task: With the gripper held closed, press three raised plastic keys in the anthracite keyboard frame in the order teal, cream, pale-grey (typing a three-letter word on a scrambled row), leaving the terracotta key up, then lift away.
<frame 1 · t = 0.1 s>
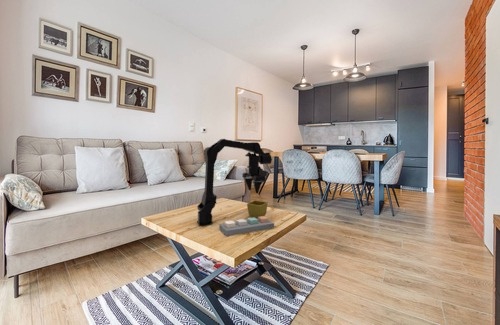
hand: (253, 191, 129), 15 cm above the table, fingers open, 9 cm apart
key b: (241, 223, 110), point 3 cm above the table, slide at 0.0 cm
flower pot: (257, 218, 127), on the table
key d: (263, 220, 115), point 3 cm above the table, slide at 0.0 cm
key a: (229, 225, 107), point 3 cm above the table, slide at 0.0 cm
keyguard frame: (247, 228, 111), on the table
key c: (252, 222, 112), point 3 cm above the table, slide at 0.0 cm
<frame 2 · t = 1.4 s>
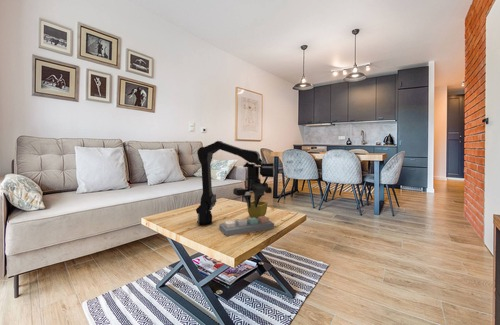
hand: (252, 207, 112), 10 cm above the table, fingers open, 3 cm apart
nothing on the table moved.
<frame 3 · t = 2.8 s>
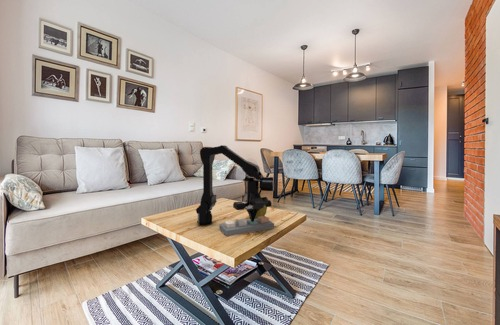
hand: (252, 221, 112), 3 cm above the table, fingers closed, pressing on key c
key c: (252, 224, 112), point 2 cm above the table, slide at 1.2 cm, touching gripper
everything else where it was.
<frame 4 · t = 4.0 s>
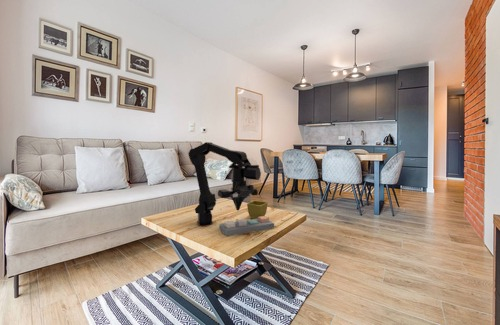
hand: (237, 210, 109), 10 cm above the table, fingers closed
key c: (252, 224, 112), point 2 cm above the table, slide at 1.2 cm
everything else where it was.
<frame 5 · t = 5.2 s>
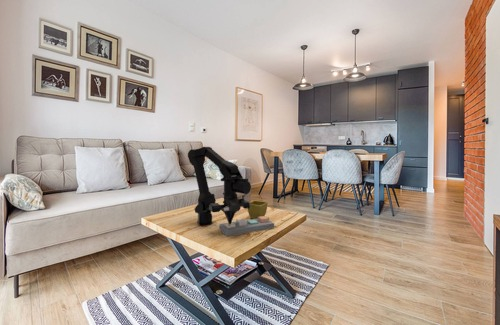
hand: (229, 223, 107), 4 cm above the table, fingers closed, pressing on key a
key a: (229, 226, 107), point 2 cm above the table, slide at 0.8 cm, touching gripper
everything else where it was.
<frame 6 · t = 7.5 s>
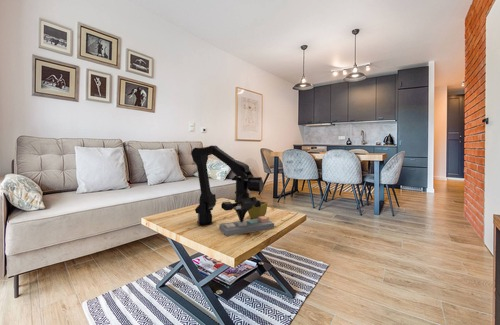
hand: (241, 221, 110), 4 cm above the table, fingers closed, pressing on key b
key b: (241, 225, 110), point 2 cm above the table, slide at 0.7 cm, touching gripper
key a: (229, 227, 107), point 2 cm above the table, slide at 1.2 cm
everything else where it was.
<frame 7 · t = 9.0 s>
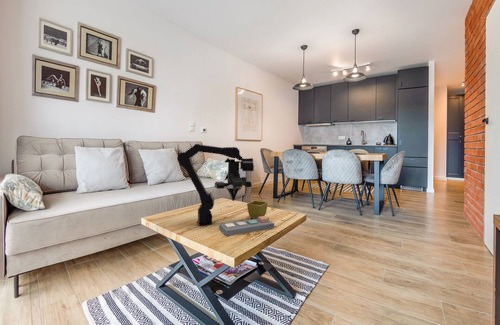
hand: (233, 200, 119), 12 cm above the table, fingers closed
key b: (241, 226, 110), point 2 cm above the table, slide at 1.2 cm
everything else where it was.
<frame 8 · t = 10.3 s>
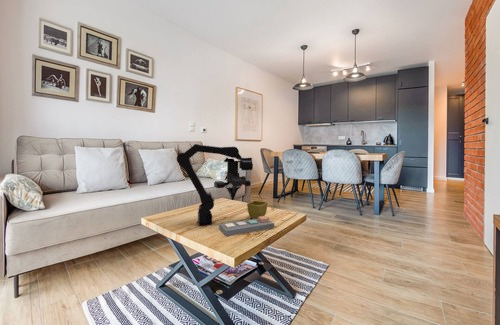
hand: (232, 199, 120), 12 cm above the table, fingers closed
nothing on the table moved.
at the end: key c slide at 1.2 cm; key a slide at 1.2 cm; key b slide at 1.2 cm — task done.
